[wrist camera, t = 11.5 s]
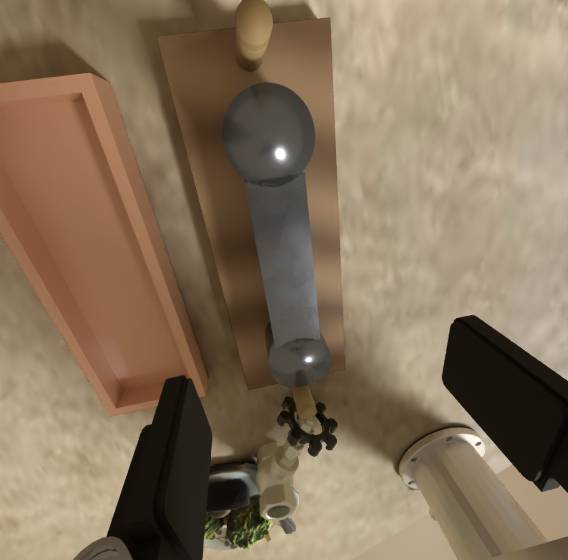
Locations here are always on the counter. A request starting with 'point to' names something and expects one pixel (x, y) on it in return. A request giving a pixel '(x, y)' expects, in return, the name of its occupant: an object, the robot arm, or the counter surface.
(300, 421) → the valve
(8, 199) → the slot holder
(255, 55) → the board
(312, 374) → the grey long knobbed bar
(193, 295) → the counter surface
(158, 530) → the robot arm
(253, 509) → the salad plate
